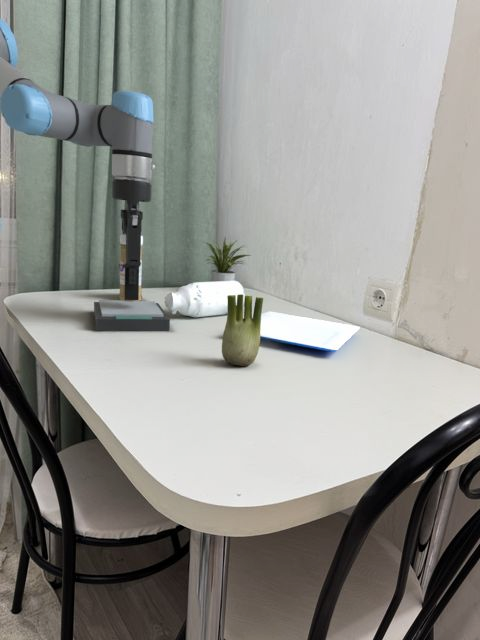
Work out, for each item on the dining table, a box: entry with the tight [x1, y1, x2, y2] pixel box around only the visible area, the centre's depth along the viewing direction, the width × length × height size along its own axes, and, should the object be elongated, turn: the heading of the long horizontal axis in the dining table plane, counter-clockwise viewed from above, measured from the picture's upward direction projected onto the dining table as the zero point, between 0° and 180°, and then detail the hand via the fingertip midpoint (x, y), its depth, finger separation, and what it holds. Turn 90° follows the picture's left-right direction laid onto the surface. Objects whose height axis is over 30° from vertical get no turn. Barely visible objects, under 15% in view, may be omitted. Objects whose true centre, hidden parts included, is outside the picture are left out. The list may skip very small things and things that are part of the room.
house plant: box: [204, 236, 251, 282], centre depth 146 cm, size 14×14×16 cm
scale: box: [93, 299, 171, 332], centre depth 107 cm, size 16×14×3 cm
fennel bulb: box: [221, 294, 264, 367], centre depth 84 cm, size 6×5×12 cm
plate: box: [252, 310, 361, 353], centre depth 106 cm, size 22×22×2 cm
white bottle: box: [164, 279, 246, 319], centre depth 117 cm, size 8×19×8 cm, turn 132°
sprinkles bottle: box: [118, 233, 144, 302], centre depth 104 cm, size 5×5×14 cm
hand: (130, 296), depth 106 cm, fingers closed on sprinkles bottle, 4 cm apart
